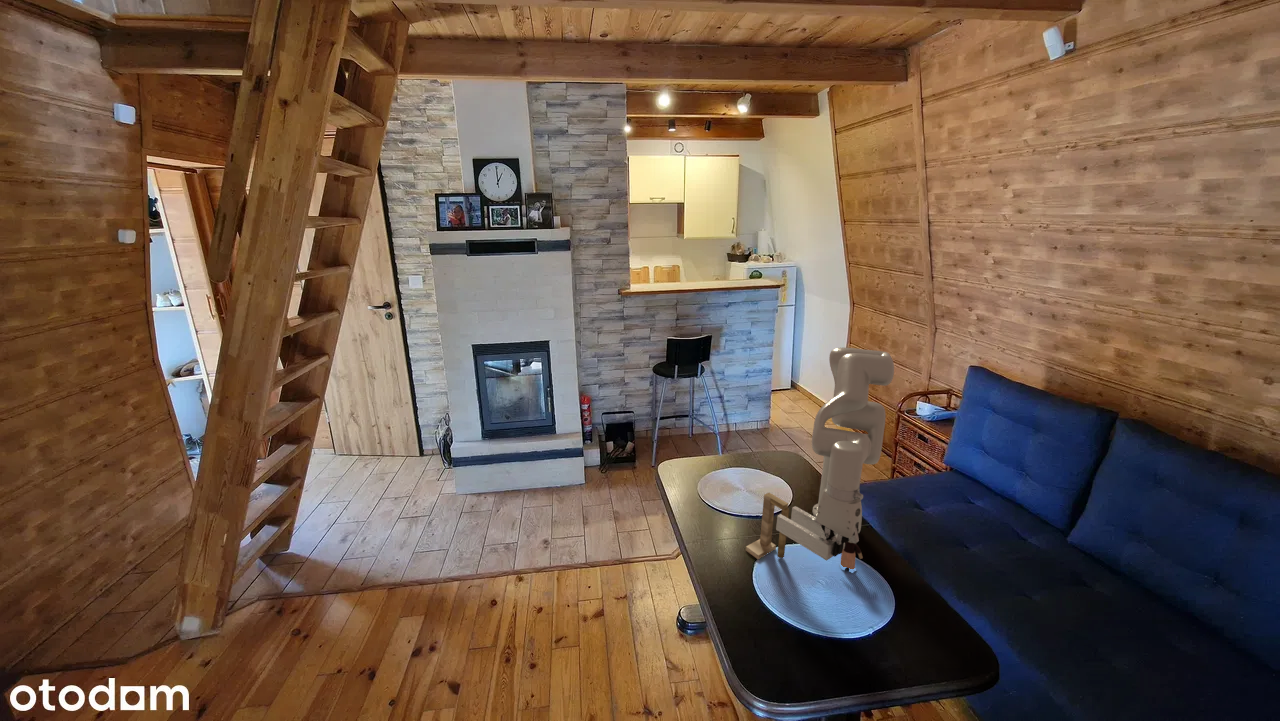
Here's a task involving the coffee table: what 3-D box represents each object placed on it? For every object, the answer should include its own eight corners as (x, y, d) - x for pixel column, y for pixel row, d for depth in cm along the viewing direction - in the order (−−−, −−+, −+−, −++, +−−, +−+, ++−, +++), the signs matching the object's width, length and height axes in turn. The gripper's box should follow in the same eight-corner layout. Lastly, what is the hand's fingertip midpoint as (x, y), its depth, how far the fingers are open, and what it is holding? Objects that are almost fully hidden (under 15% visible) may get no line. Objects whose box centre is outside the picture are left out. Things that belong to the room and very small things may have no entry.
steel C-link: (844, 548, 131) (846, 534, 130) (826, 560, 126) (828, 545, 125) (793, 519, 143) (795, 506, 142) (776, 529, 138) (777, 515, 137)
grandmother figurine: (859, 566, 146) (865, 530, 142) (860, 575, 142) (866, 538, 139) (831, 561, 148) (836, 524, 144) (831, 569, 145) (837, 532, 141)
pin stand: (763, 540, 157) (767, 489, 152) (787, 557, 150) (793, 503, 144) (745, 550, 153) (749, 497, 147) (769, 567, 145) (775, 513, 140)
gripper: (880, 498, 120) (869, 562, 125) (823, 472, 132) (815, 531, 137) (863, 509, 116) (853, 574, 121) (806, 481, 127) (799, 542, 133)
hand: (833, 551), depth 129 cm, fingers closed on steel C-link, 1 cm apart
